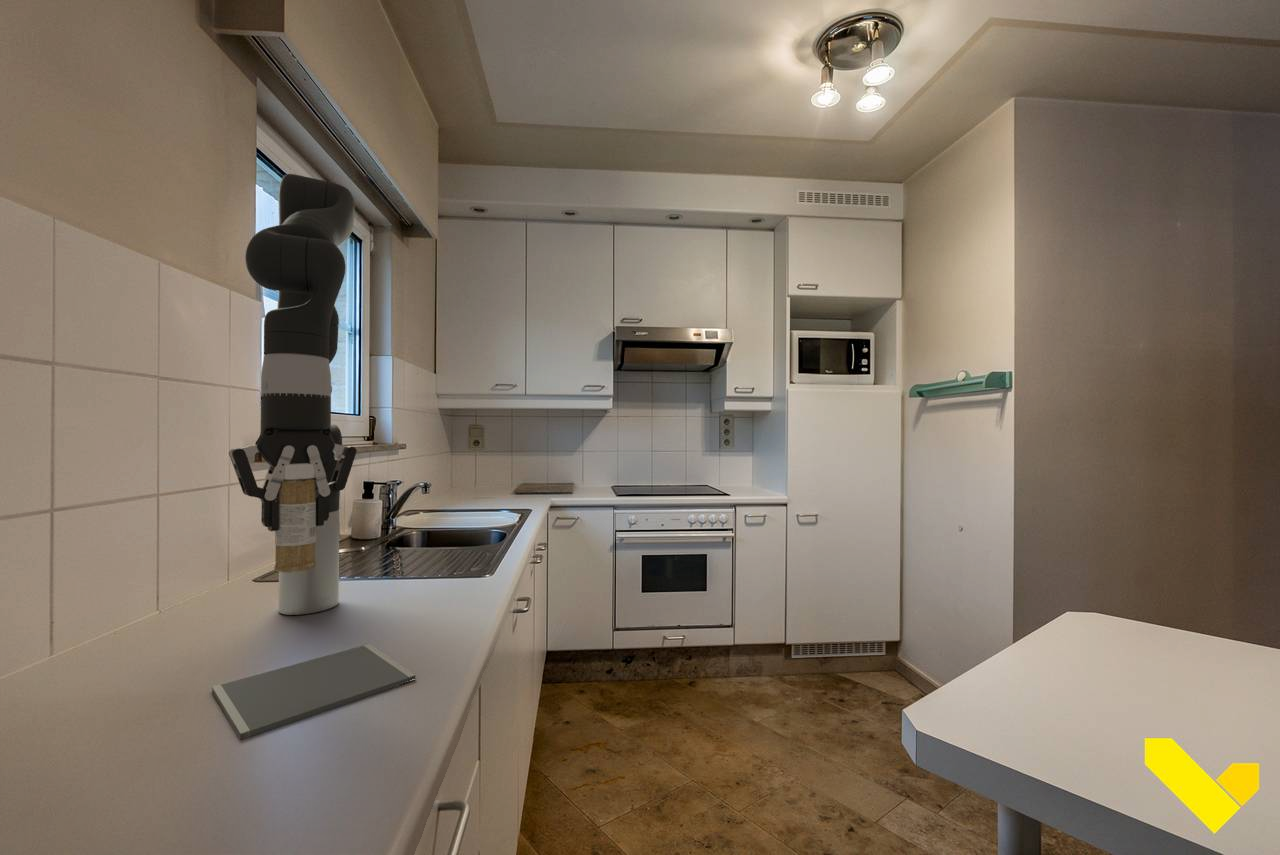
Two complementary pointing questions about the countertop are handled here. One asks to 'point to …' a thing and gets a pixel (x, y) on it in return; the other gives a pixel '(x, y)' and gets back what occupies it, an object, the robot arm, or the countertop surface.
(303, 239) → the robot arm
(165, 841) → the countertop surface
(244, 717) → the mat
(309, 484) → the sprinkles bottle
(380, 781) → the countertop surface
